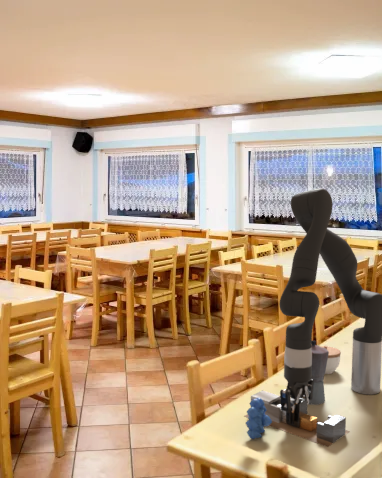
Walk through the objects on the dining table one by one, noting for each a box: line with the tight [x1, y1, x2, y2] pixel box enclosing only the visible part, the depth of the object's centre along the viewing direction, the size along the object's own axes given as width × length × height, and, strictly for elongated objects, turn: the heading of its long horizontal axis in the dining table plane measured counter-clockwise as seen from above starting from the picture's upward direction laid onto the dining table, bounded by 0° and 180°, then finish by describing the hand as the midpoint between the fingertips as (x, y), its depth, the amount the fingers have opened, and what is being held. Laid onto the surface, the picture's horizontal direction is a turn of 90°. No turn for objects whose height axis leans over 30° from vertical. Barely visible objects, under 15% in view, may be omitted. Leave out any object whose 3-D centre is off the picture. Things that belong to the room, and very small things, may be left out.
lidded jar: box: [319, 345, 341, 375], centre depth 200 cm, size 11×11×9 cm
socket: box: [316, 413, 347, 444], centre depth 145 cm, size 7×5×5 cm
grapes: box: [245, 398, 272, 440], centre depth 145 cm, size 12×7×12 cm, turn 156°
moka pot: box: [308, 339, 329, 406], centre depth 169 cm, size 10×15×20 cm, turn 161°
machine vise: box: [243, 389, 350, 448], centre depth 153 cm, size 12×27×7 cm, turn 47°
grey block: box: [271, 397, 318, 431], centre depth 155 cm, size 4×18×7 cm, turn 47°
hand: (296, 420), depth 153 cm, fingers open, 6 cm apart
